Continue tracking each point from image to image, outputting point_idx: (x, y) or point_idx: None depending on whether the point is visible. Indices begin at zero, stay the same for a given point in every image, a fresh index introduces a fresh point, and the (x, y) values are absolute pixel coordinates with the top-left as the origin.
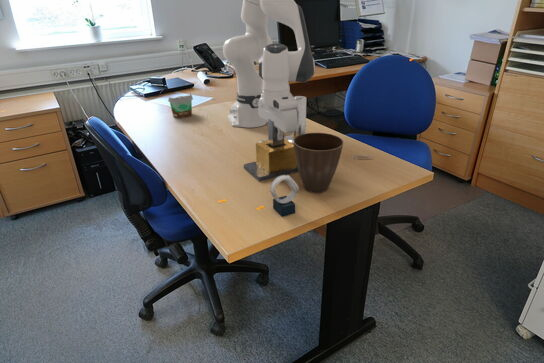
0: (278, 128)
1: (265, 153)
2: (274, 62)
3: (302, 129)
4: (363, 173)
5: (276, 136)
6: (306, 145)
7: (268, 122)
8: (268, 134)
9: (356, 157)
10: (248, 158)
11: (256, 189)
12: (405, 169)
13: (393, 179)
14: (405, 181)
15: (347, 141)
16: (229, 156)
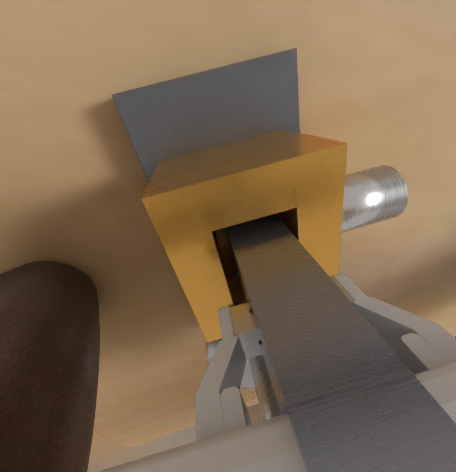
0: (163, 460)
1: (192, 177)
2: None
3: None
4: (143, 383)
5: (248, 315)
6: (71, 421)
7: (420, 396)
8: (320, 268)
9: None
10: (370, 111)
11: (19, 52)
12: (150, 429)
13: (106, 415)
14: (95, 426)
15: None
16: (451, 6)
